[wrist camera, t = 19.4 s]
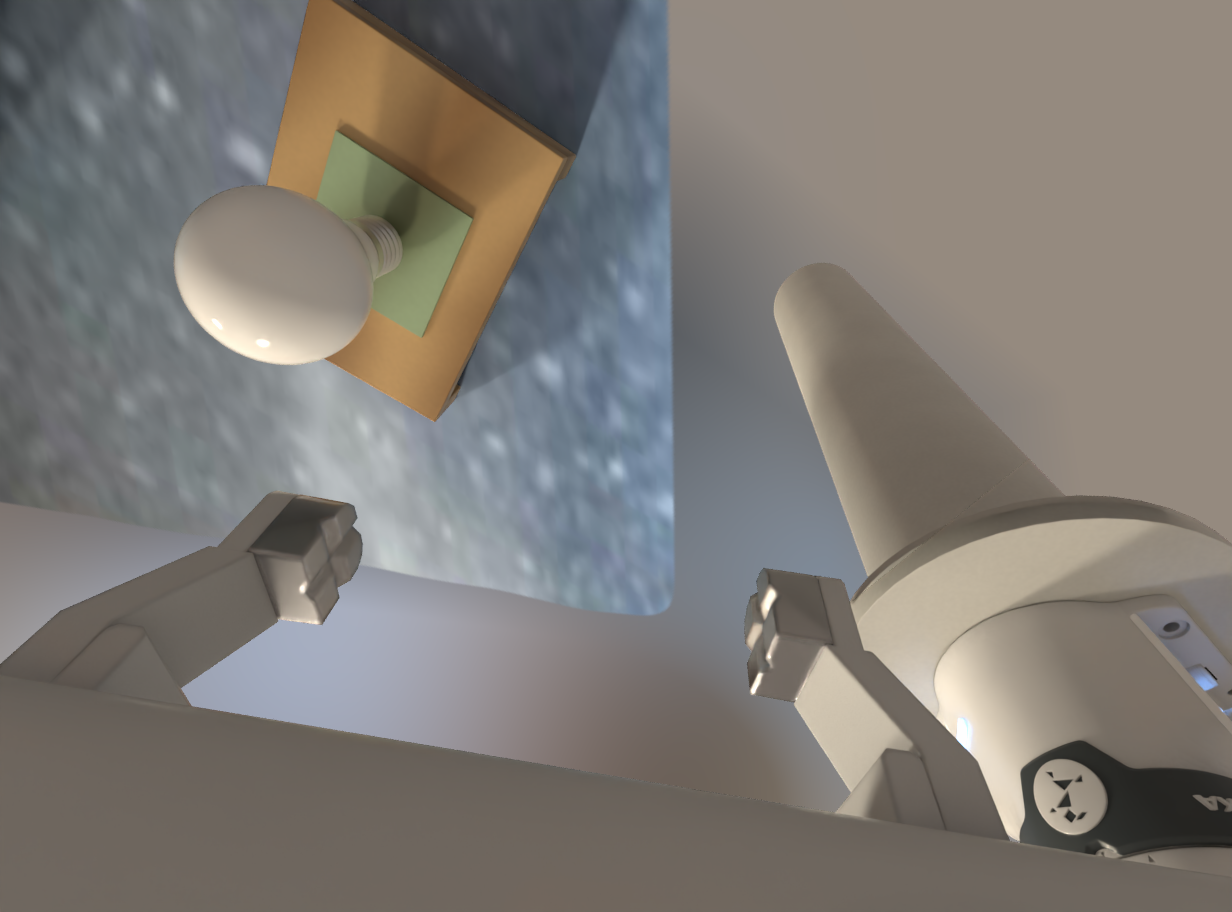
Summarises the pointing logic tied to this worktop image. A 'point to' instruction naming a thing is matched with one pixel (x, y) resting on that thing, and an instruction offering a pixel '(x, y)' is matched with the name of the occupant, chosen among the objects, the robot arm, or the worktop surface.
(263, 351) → the lightbulb
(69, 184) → the worktop surface
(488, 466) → the worktop surface
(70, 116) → the worktop surface
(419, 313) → the shelf
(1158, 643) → the robot arm
